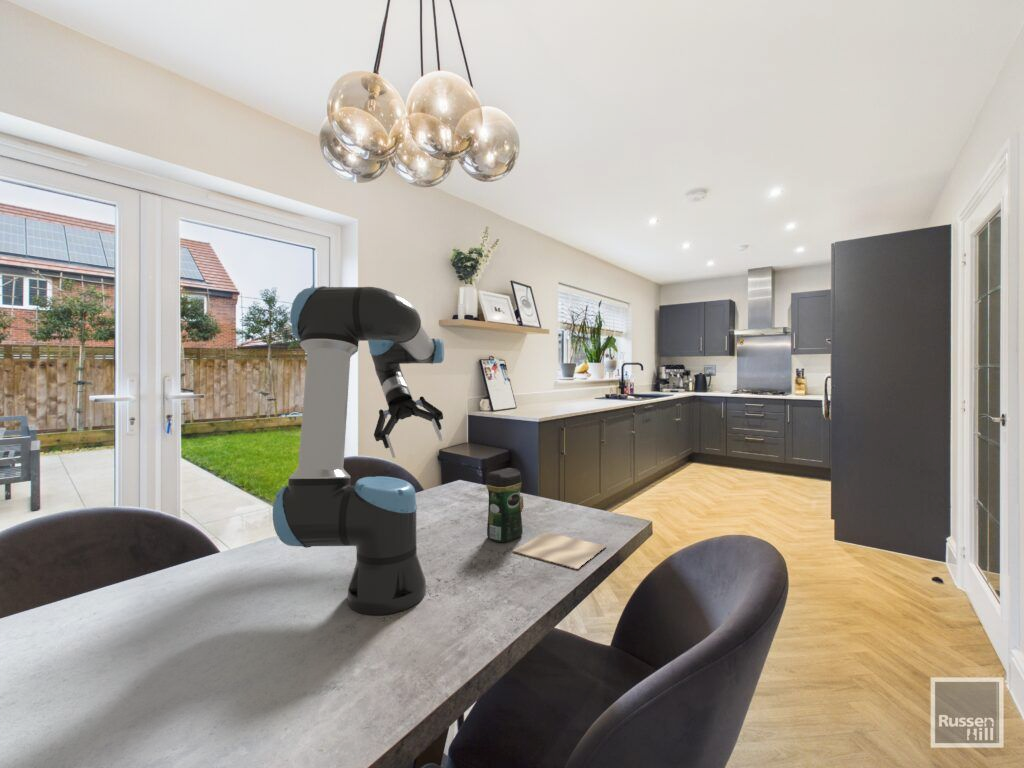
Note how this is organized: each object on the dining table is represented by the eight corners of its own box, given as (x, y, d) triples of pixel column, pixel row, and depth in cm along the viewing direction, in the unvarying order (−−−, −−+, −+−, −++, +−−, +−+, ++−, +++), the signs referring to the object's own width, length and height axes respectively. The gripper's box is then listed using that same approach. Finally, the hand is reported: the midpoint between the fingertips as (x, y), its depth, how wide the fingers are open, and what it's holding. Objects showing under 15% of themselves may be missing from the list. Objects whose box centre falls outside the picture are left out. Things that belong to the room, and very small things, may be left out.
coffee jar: (506, 529, 128) (506, 464, 128) (527, 535, 123) (526, 468, 122) (481, 538, 121) (481, 470, 121) (502, 545, 116) (501, 474, 115)
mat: (512, 552, 111) (512, 550, 111) (545, 533, 124) (545, 531, 124) (577, 570, 101) (577, 568, 101) (606, 547, 114) (606, 545, 114)
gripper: (437, 390, 144) (460, 439, 131) (359, 415, 137) (375, 469, 124) (434, 374, 139) (458, 423, 126) (353, 399, 132) (369, 454, 118)
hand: (417, 446), depth 125 cm, fingers open, 13 cm apart
